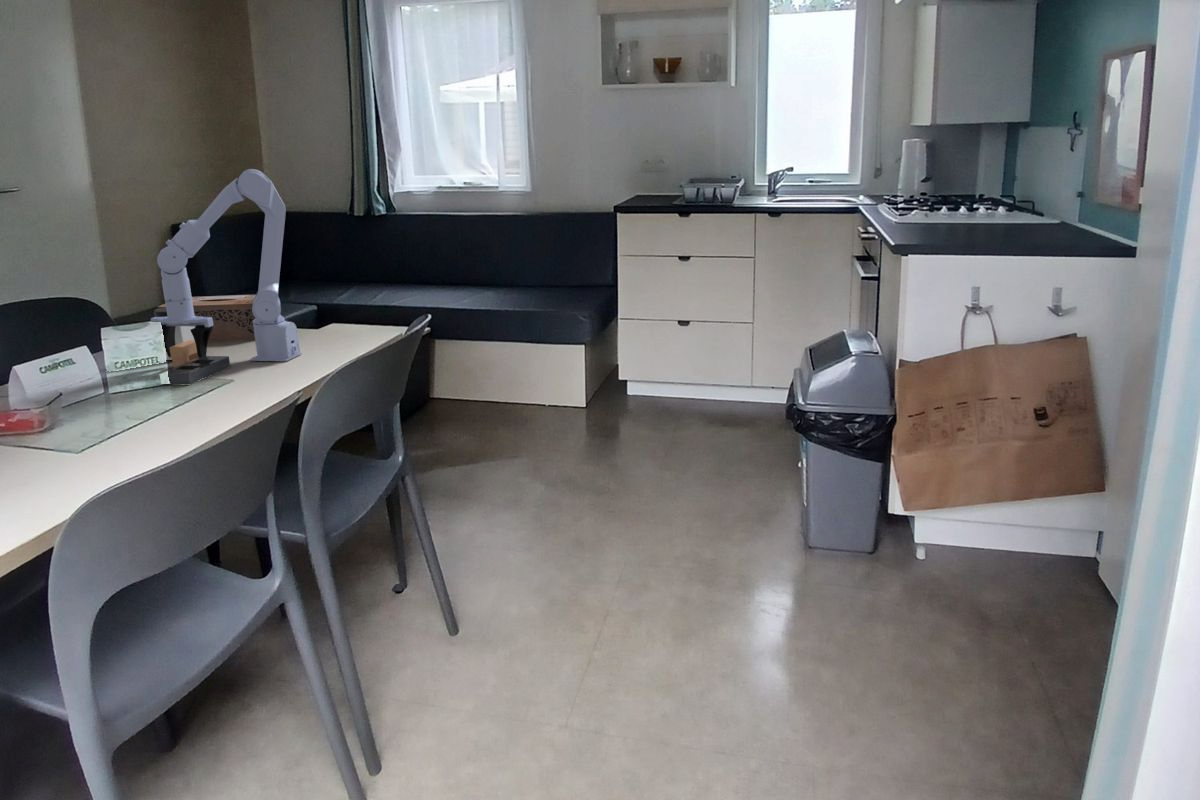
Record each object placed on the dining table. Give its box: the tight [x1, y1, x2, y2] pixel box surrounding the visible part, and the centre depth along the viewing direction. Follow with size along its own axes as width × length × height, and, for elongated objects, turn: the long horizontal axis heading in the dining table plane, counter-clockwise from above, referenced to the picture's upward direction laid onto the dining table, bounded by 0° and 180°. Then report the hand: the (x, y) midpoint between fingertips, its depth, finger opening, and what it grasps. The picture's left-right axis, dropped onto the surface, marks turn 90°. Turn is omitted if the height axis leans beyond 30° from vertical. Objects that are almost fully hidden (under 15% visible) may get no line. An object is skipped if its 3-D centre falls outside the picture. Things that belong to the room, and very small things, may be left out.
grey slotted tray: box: [167, 355, 231, 385], centre depth 206 cm, size 16×7×2 cm, turn 170°
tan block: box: [169, 340, 198, 368], centre depth 214 cm, size 8×3×6 cm, turn 170°
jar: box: [153, 307, 195, 361], centre depth 223 cm, size 9×8×12 cm
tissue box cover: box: [156, 294, 256, 343], centre depth 247 cm, size 26×14×10 cm, turn 92°
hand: (187, 356), depth 214 cm, fingers open, 7 cm apart
